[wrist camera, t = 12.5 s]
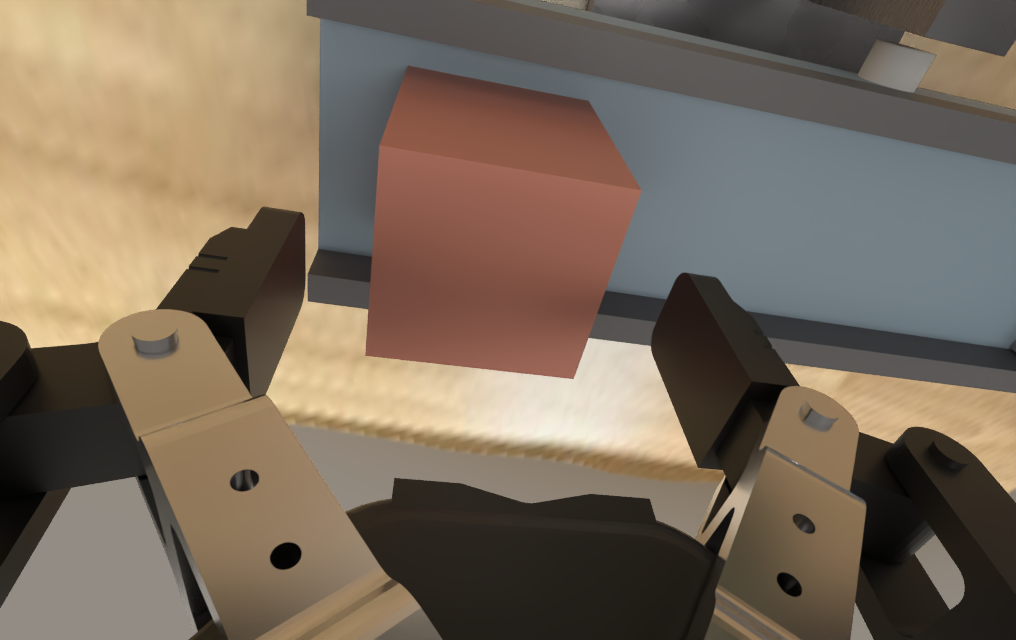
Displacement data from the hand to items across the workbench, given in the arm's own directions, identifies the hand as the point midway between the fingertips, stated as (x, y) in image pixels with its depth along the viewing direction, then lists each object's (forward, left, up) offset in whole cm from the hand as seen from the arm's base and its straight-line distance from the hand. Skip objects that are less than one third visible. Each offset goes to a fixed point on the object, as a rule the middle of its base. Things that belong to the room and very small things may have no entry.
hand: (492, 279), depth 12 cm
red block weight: (0, 0, -6) cm, 6 cm away
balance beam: (-6, -10, -7) cm, 13 cm away
